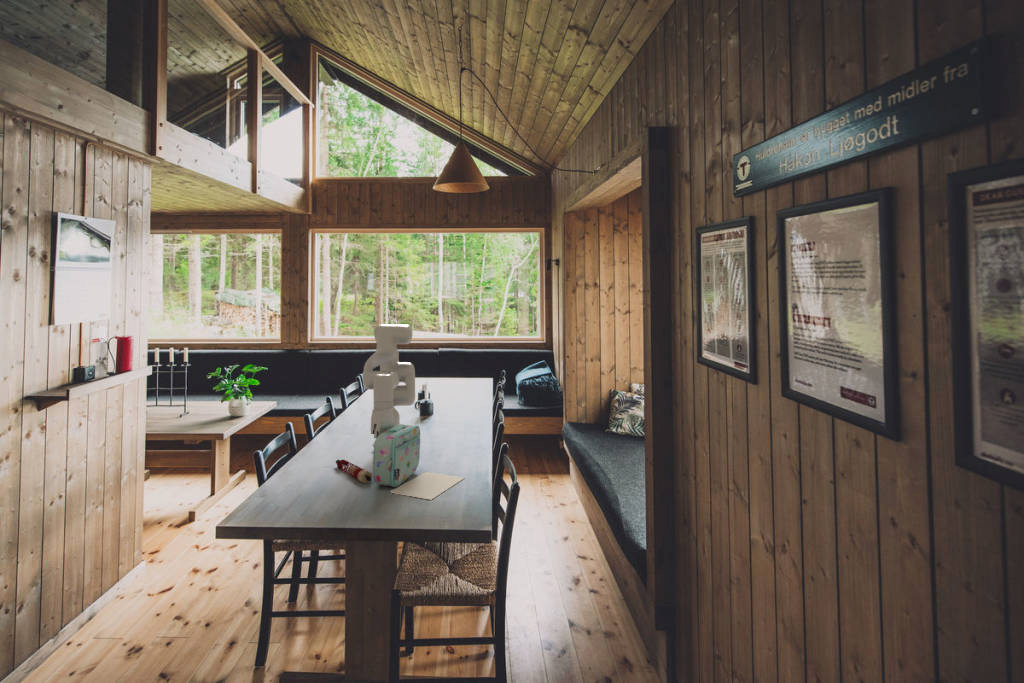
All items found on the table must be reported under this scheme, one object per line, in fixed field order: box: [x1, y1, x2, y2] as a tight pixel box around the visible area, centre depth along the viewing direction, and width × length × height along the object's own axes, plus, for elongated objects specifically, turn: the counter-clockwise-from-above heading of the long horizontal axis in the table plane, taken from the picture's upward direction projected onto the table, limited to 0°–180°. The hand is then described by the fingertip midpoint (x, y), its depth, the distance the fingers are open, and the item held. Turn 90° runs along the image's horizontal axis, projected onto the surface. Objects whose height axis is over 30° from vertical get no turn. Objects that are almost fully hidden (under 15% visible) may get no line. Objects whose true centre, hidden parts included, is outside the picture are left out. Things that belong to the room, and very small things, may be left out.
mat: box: [389, 471, 465, 501], centre depth 203 cm, size 18×26×1 cm
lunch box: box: [372, 423, 421, 488], centre depth 207 cm, size 27×10×21 cm, turn 168°
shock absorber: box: [335, 459, 373, 484], centre depth 214 cm, size 5×5×30 cm
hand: (383, 450), depth 210 cm, fingers closed
